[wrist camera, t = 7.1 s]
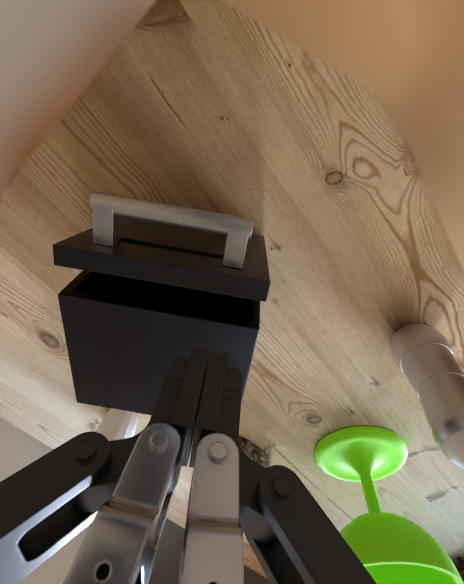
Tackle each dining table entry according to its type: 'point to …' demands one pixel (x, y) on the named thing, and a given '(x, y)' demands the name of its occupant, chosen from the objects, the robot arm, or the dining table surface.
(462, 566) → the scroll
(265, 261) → the oven door
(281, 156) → the dining table surface
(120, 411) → the white cylindrical container
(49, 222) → the dining table surface
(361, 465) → the wineglass
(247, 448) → the bread roll
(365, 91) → the dining table surface
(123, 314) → the oven
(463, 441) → the silver bottle
